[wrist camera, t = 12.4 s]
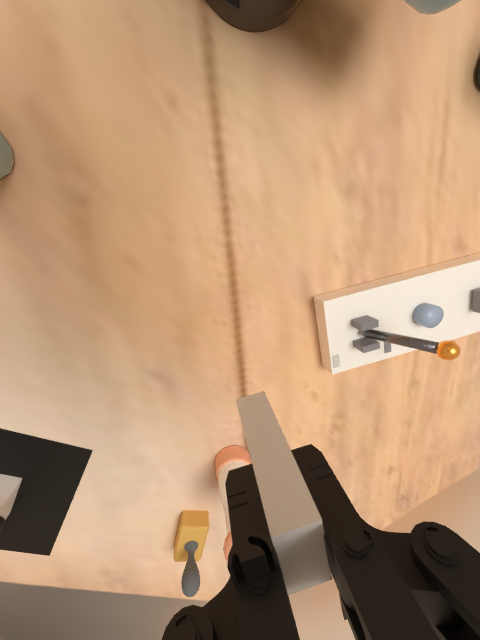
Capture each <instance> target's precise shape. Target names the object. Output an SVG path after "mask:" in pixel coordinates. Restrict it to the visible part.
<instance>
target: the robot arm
mask: <svg viewBox="0 0 480 640" xmlns="http://www.w3.org/2000/svg"><path fill="white" fill-rule="evenodd" d="M207 1H208V2H209V4H210V5H211V7H212V8H213V9H214V10H215V11H216V12H217V13H218V14H219V15H220V16H221V17H222V18H223V19H224V20H225V21H227V22H228V23H230V24H232V25H233V26H235V27H237V28H240V29H243V30H246V31H254V32H259V31H265V30H269V29H272V28H274V27H276V26H278V25H279V24H281V23H282V22H284V21H285V20H286V19H287V18H288V17H289V16H290V15H291V14H292V13H293V11H294V10H295V8H296V7H297V5H298V4H299V2H300V0H207ZM404 1H405V2H406V3H407V4H408V5H410V6H411V7H412V8H413V9H414V10H416V11H417V12H419V13H421V14H436V13H439V12H441V11H443V10H446V9H448V8H450V7H451V6H453V5H455V4H456V3H458V2H459V1H461V0H404ZM236 401H237V405H238V409H239V413H240V417H241V421H242V425H243V429H244V433H245V437H246V441H247V445H248V449H249V453H250V457H251V461H252V464H249V465H245V466H242V467H239V468H236V469H233V470H230V471H229V472H228V475H227V479H226V482H225V487H226V495H227V503H228V510H229V511H228V512H229V520H230V528H231V536H232V544H233V545H232V547H231V549H230V552H229V555H228V566H227V567H228V570H229V573H230V575H231V576H230V578H229V581H228V582H227V584H226V585H225V587H224V588H223V589H222V590H221V591H220V592H219V594H217V595H216V596H215V597H214V598H213V599H212V600H210V601H209V602H208V603H207V604H206V605H205V606H203V607H199V606H195V605H191V606H188V607H184V608H182V609H181V610H180V611H179V612H178V613H176V614H175V615H174V616H173V618H172V619H171V621H170V622H169V624H168V626H167V627H166V629H165V632H164V635H163V638H162V640H300V639H299V635H298V631H297V627H296V623H295V620H294V616H293V612H292V609H291V605H290V601H289V597H288V595H290V594H293V593H296V592H298V591H301V590H304V589H307V588H309V587H312V586H315V585H317V584H320V583H323V582H326V581H329V580H331V579H332V575H333V578H334V580H335V583H336V585H337V588H338V590H339V595H340V601H341V607H342V612H343V616H344V620H346V619H348V621H349V624H350V626H351V629H352V631H353V634H354V637H355V639H356V640H480V553H479V552H478V551H477V550H475V549H474V548H473V547H472V546H471V545H469V544H468V543H467V542H466V541H465V540H464V539H462V538H461V537H460V536H459V535H458V534H456V533H455V532H453V531H452V530H450V529H449V528H447V527H446V526H443V525H441V524H438V523H435V522H422V523H419V524H417V525H415V527H414V528H413V530H412V531H411V533H395V532H386V531H381V530H378V529H376V528H374V527H372V526H370V525H369V524H367V523H366V522H365V521H364V520H363V519H362V518H361V517H360V516H359V514H358V513H357V512H356V510H355V508H354V507H353V505H352V503H351V502H350V500H349V498H348V497H347V495H346V493H345V491H344V490H343V488H342V486H341V485H340V483H339V481H338V480H337V478H336V476H335V475H334V473H333V471H332V469H331V468H330V466H329V465H328V463H327V461H326V459H325V457H324V456H323V454H322V452H321V451H319V450H318V449H317V448H315V447H314V446H313V445H312V444H310V445H306V446H303V447H300V448H297V449H294V450H290V447H289V445H288V443H287V441H286V439H285V436H284V434H283V432H282V430H281V427H280V425H279V423H278V421H277V419H276V416H275V414H274V412H273V410H272V407H271V405H270V403H269V401H268V399H267V396H266V394H265V392H264V391H263V392H260V393H256V394H253V395H250V396H246V397H243V398H239V399H236ZM331 573H332V574H331Z"/></svg>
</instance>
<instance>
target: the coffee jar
mask: <svg viewBox="0 0 480 640" xmlns="http://www.w3.org/2000/svg"><path fill="white" fill-rule="evenodd" d="M477 78H478V85H479V86H480V62H479V66H478V74H477Z"/></svg>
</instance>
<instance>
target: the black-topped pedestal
mask: <svg viewBox="0 0 480 640" xmlns="http://www.w3.org/2000/svg"><path fill="white" fill-rule="evenodd" d="M92 451H93V450H89V449H84V448H80V447H76V446H72V445H67V444H63V443H59V442H55V441H50V440H46V439H42V438H37V437H33V436H29V435H25V434H20V433H16V432H12V431H8V430H3V429H0V550H8V551H16V552H24V553H32V554H40V555H48V556H49V555H50V553H51V550H52V548H53V546H54V543H55V541H56V538H57V536H58V533H59V531H60V529H61V526H62V524H63V521H64V519H65V516H66V514H67V512H68V509H69V507H70V504H71V502H72V499H73V497H74V494H75V492H76V490H77V487H78V485H79V482H80V480H81V477H82V475H83V473H84V470H85V468H86V465H87V463H88V460H89V458H90V455H91V453H92Z"/></svg>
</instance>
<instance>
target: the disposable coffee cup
mask: <svg viewBox="0 0 480 640" xmlns="http://www.w3.org/2000/svg"><path fill="white" fill-rule="evenodd" d="M13 164H14V159H13V153H12V148H11V147H10V145H9V144H8V142H7V141H6V139H5V138H4V137H3V135H2V134H1V133H0V179H1V178H2V177H4V176H6V175H8V174H9V173H10V171H11V169H12V166H13Z"/></svg>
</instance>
